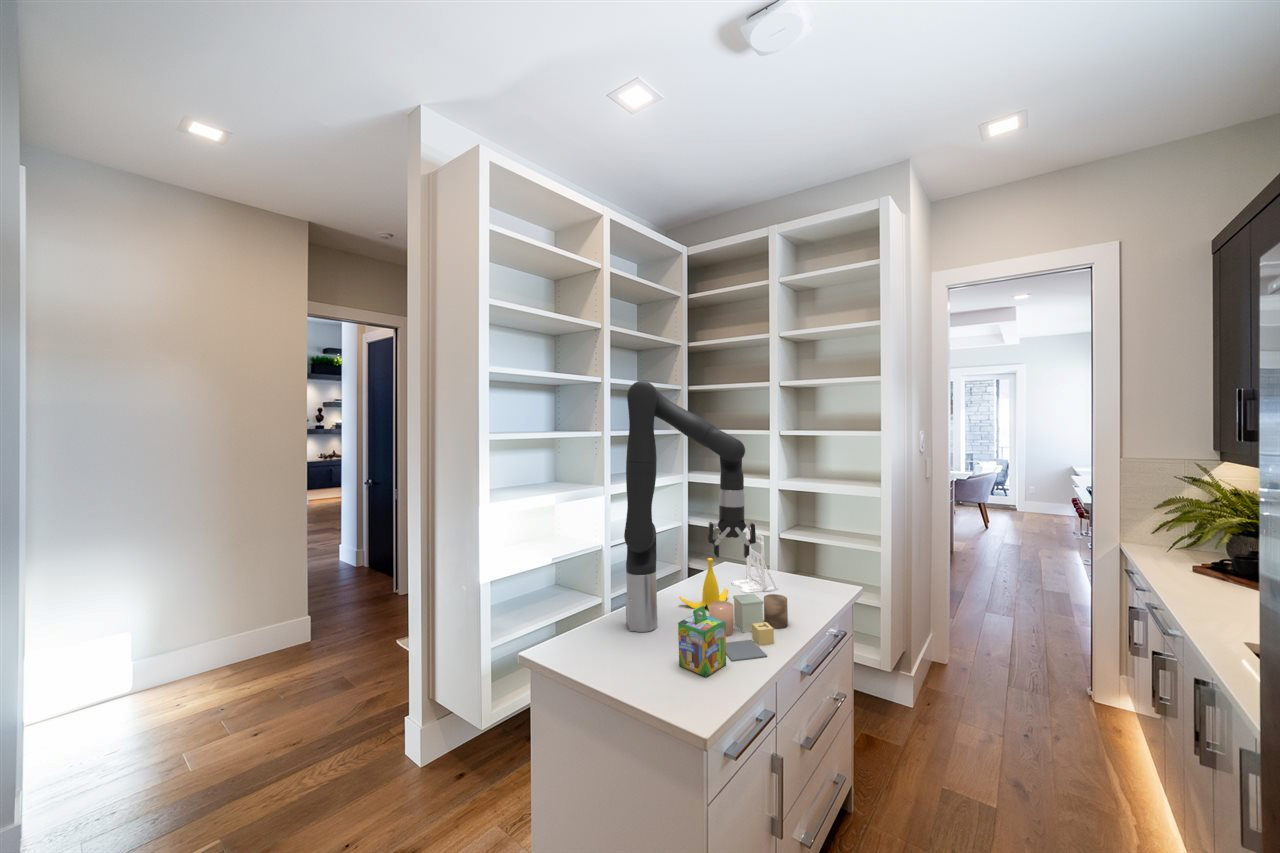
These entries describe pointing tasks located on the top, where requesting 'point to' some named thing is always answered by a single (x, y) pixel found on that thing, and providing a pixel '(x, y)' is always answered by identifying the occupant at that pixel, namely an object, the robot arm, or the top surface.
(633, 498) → the robot arm
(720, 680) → the top surface
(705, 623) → the chalk box
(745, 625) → the pale green square canister
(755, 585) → the film strip holder
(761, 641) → the letter cube
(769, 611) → the canister
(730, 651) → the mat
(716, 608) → the canister
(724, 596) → the banana peel
